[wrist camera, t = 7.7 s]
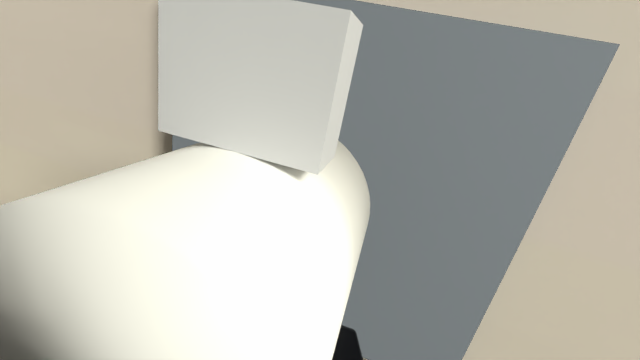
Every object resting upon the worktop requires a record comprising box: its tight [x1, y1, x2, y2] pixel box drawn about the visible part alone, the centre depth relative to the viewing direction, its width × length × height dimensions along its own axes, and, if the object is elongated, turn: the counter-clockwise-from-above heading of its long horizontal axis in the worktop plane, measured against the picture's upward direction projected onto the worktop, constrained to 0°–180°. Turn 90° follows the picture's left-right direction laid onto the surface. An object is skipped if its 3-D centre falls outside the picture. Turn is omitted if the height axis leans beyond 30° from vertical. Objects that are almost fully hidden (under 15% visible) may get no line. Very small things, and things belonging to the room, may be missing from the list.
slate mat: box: [172, 0, 620, 360], centre depth 14 cm, size 16×16×1 cm
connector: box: [0, 0, 370, 360], centre depth 6 cm, size 11×4×5 cm, turn 169°
